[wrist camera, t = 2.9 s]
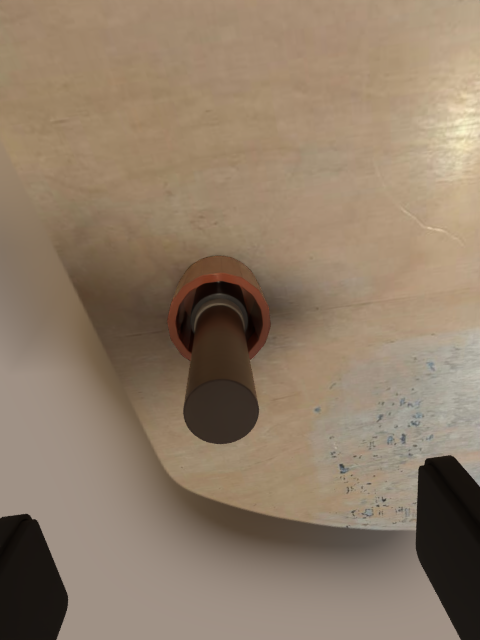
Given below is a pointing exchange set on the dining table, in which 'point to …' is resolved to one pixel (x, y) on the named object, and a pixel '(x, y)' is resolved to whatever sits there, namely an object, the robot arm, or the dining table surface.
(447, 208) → the dining table surface
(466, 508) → the robot arm
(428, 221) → the dining table surface
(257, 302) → the brush pot
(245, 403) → the brush
